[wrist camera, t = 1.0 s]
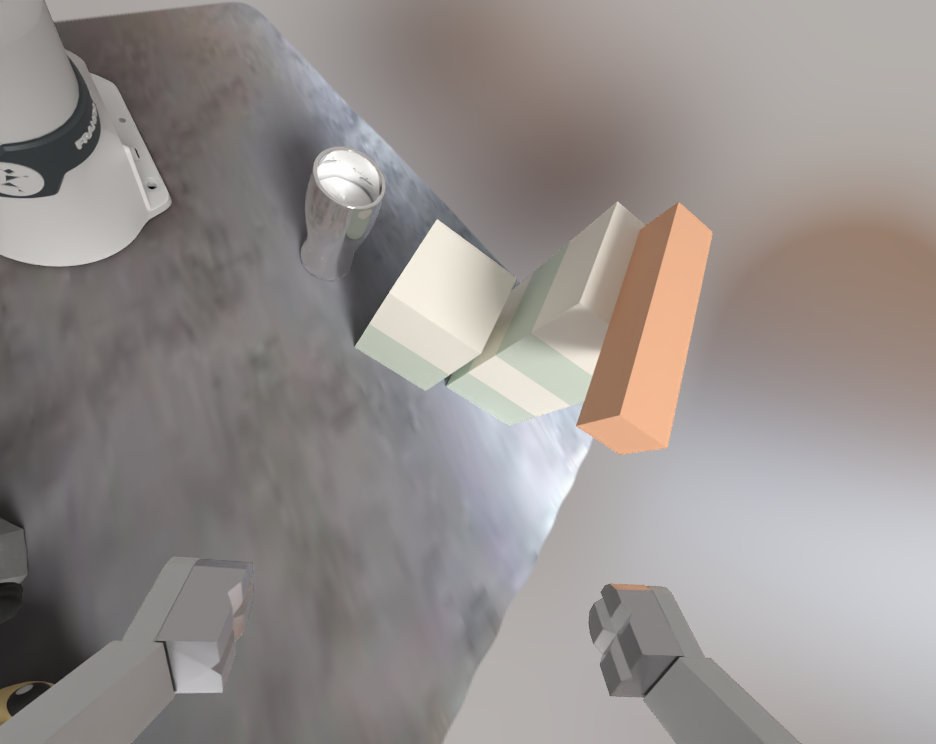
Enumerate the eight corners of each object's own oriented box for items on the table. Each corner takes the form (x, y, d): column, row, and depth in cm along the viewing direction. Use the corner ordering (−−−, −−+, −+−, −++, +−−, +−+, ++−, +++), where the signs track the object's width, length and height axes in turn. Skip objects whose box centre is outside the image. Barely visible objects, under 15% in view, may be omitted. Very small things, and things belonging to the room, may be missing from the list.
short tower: (425, 390, 53) (480, 354, 40) (354, 347, 51) (388, 292, 38) (458, 329, 58) (517, 278, 45) (394, 286, 55) (437, 219, 42)
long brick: (619, 454, 30) (667, 447, 27) (576, 426, 29) (619, 415, 26) (671, 256, 39) (712, 232, 35) (640, 229, 38) (678, 201, 34)
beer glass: (306, 223, 53) (324, 131, 40) (362, 246, 55) (395, 167, 42) (287, 270, 50) (299, 188, 37) (347, 293, 52) (377, 223, 39)
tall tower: (508, 425, 57) (673, 373, 35) (445, 386, 55) (579, 302, 32) (537, 354, 62) (696, 268, 40) (481, 315, 60) (617, 201, 38)
